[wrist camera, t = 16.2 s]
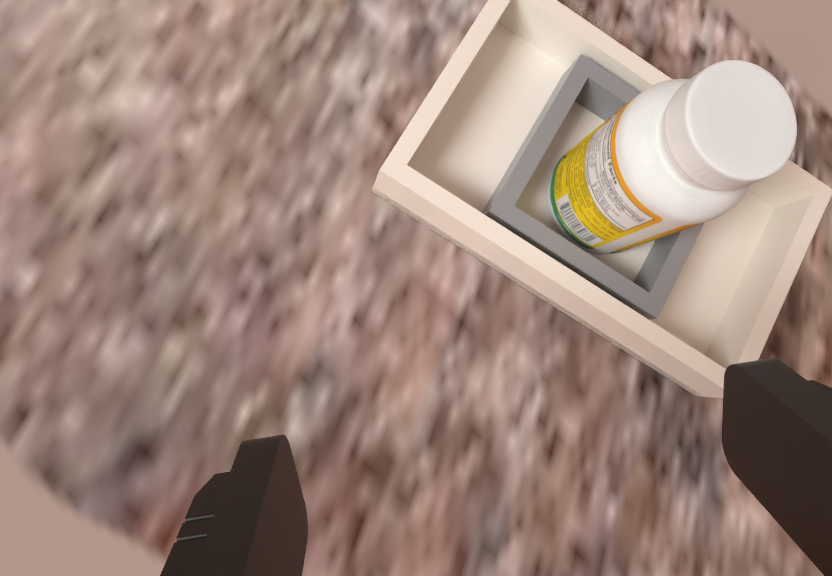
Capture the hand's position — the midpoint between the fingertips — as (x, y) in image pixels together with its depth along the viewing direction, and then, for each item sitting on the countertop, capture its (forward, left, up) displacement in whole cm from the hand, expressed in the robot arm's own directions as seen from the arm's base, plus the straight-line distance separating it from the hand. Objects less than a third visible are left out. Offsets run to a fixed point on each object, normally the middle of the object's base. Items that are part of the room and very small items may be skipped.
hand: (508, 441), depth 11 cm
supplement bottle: (+4, +13, -15) cm, 20 cm away
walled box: (+4, +13, -15) cm, 20 cm away
